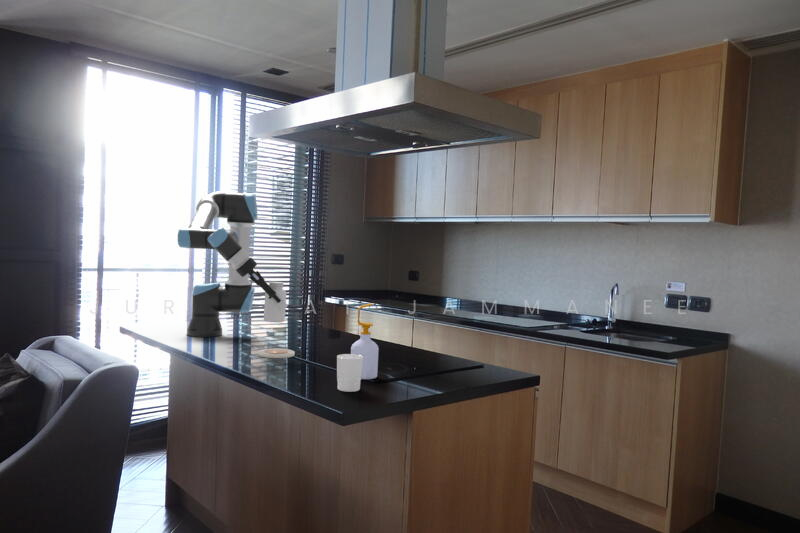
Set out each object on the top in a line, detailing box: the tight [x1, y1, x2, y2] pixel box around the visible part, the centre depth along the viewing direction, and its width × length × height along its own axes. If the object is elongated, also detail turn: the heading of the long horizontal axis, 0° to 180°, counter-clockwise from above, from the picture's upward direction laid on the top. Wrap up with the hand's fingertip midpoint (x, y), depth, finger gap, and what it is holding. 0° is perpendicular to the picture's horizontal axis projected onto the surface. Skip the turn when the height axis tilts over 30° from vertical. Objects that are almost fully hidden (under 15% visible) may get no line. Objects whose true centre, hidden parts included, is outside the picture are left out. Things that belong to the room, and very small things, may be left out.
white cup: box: [336, 353, 363, 393], centre depth 176 cm, size 8×8×10 cm
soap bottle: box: [350, 302, 380, 380], centre depth 194 cm, size 9×9×25 cm
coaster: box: [257, 348, 296, 359], centre depth 224 cm, size 14×14×1 cm
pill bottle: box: [263, 281, 287, 323], centre depth 223 cm, size 8×8×15 cm
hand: (284, 306), depth 224 cm, fingers closed on pill bottle, 8 cm apart
